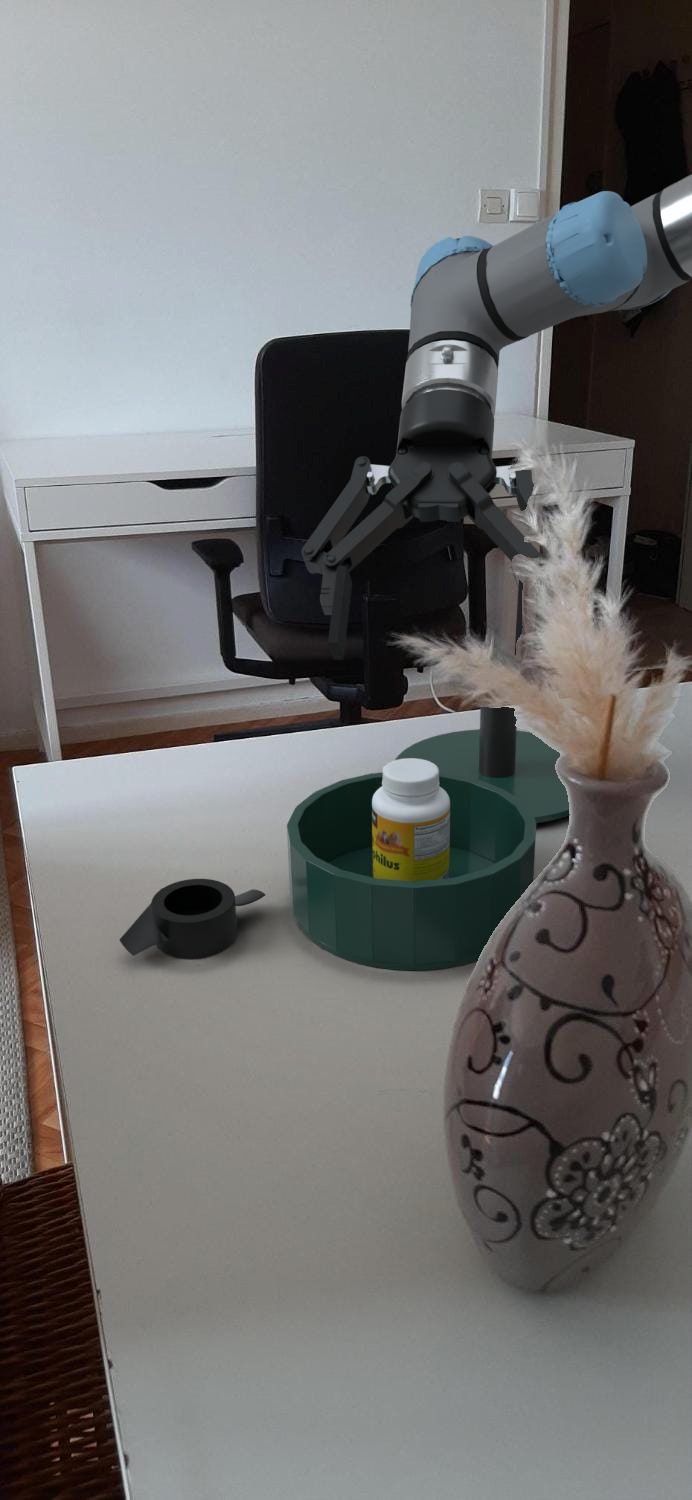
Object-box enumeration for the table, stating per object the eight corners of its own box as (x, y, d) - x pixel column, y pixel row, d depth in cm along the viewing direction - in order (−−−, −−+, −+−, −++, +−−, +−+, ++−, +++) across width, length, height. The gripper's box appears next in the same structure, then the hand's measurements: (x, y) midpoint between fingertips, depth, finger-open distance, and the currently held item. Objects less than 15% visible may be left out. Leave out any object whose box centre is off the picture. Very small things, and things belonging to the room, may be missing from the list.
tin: (535, 851, 91) (539, 777, 88) (527, 981, 75) (531, 895, 72) (318, 836, 94) (315, 764, 91) (266, 958, 78) (261, 876, 76)
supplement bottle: (360, 885, 86) (358, 761, 82) (427, 869, 88) (427, 747, 84) (393, 922, 81) (391, 792, 77) (462, 904, 83) (465, 776, 79)
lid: (601, 745, 109) (609, 643, 105) (606, 839, 92) (615, 722, 88) (406, 735, 113) (405, 636, 108) (376, 824, 96) (374, 711, 92)
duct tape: (267, 962, 78) (265, 925, 77) (119, 971, 77) (114, 934, 76) (266, 902, 85) (264, 868, 84) (130, 910, 84) (126, 876, 83)
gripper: (286, 385, 90) (250, 626, 83) (610, 382, 86) (603, 636, 79) (303, 443, 97) (271, 670, 90) (604, 443, 93) (597, 681, 86)
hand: (426, 654), depth 84 cm, fingers open, 13 cm apart
